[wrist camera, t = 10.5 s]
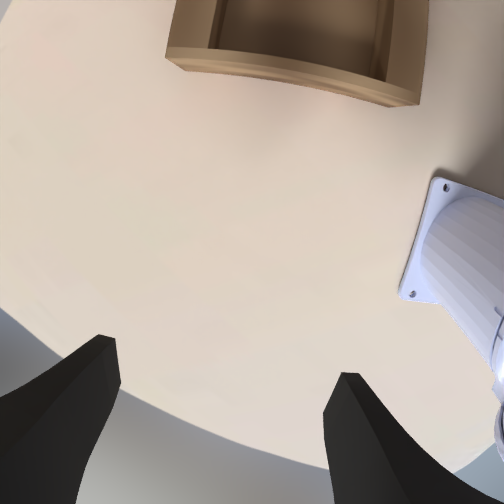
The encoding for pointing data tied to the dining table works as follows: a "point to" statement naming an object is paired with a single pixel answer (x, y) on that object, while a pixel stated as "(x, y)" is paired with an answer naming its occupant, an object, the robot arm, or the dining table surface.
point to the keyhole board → (308, 44)
